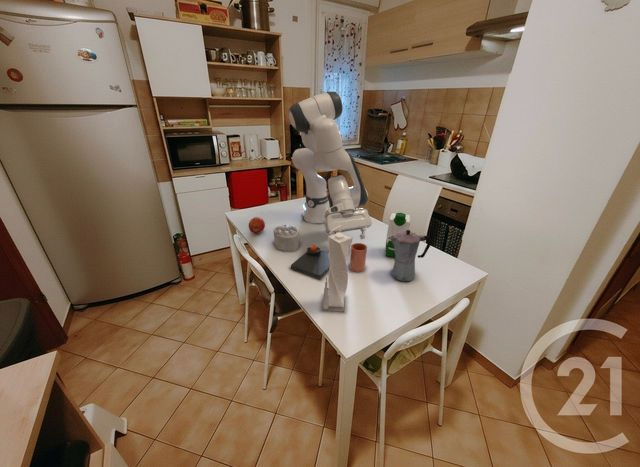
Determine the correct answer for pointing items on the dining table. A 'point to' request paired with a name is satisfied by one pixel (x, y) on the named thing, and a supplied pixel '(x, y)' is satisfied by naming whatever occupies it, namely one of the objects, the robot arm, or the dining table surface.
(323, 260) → the dark grey flat block
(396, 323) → the dining table surface
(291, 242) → the lumpy-topped squat cylinder
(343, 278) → the skyscraper
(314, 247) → the button
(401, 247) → the moka pot
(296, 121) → the robot arm
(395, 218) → the milk carton
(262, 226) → the apple
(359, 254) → the cup
